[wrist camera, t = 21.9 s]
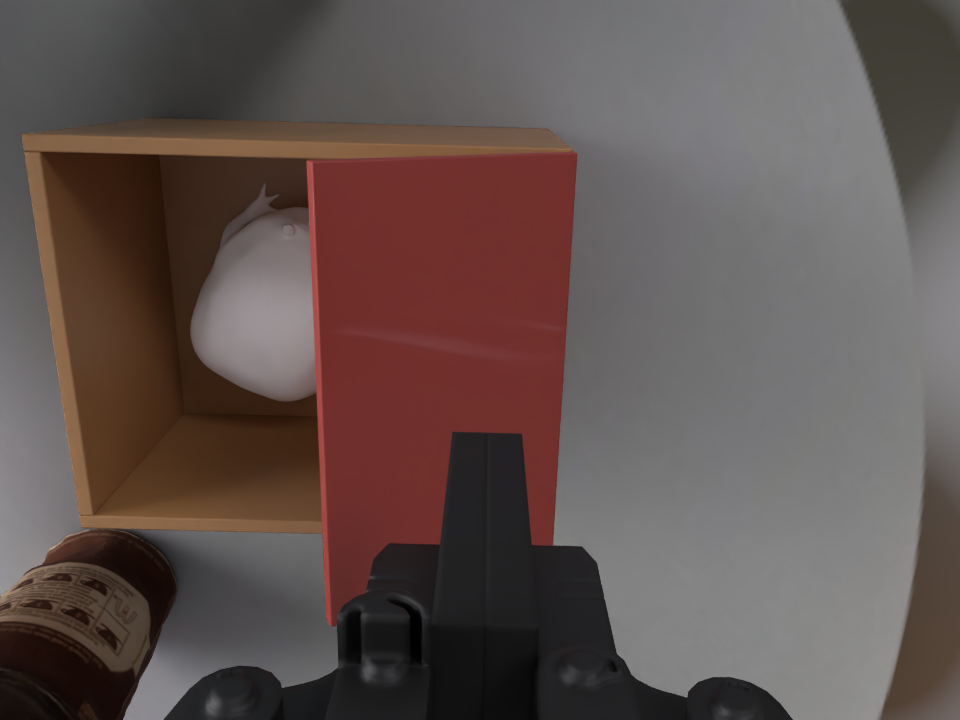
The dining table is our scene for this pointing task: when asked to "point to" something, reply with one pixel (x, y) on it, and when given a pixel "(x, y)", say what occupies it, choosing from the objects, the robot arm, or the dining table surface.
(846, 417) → the dining table surface
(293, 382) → the white frog figurine
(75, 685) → the coffee cup
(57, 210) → the carton
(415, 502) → the flap
